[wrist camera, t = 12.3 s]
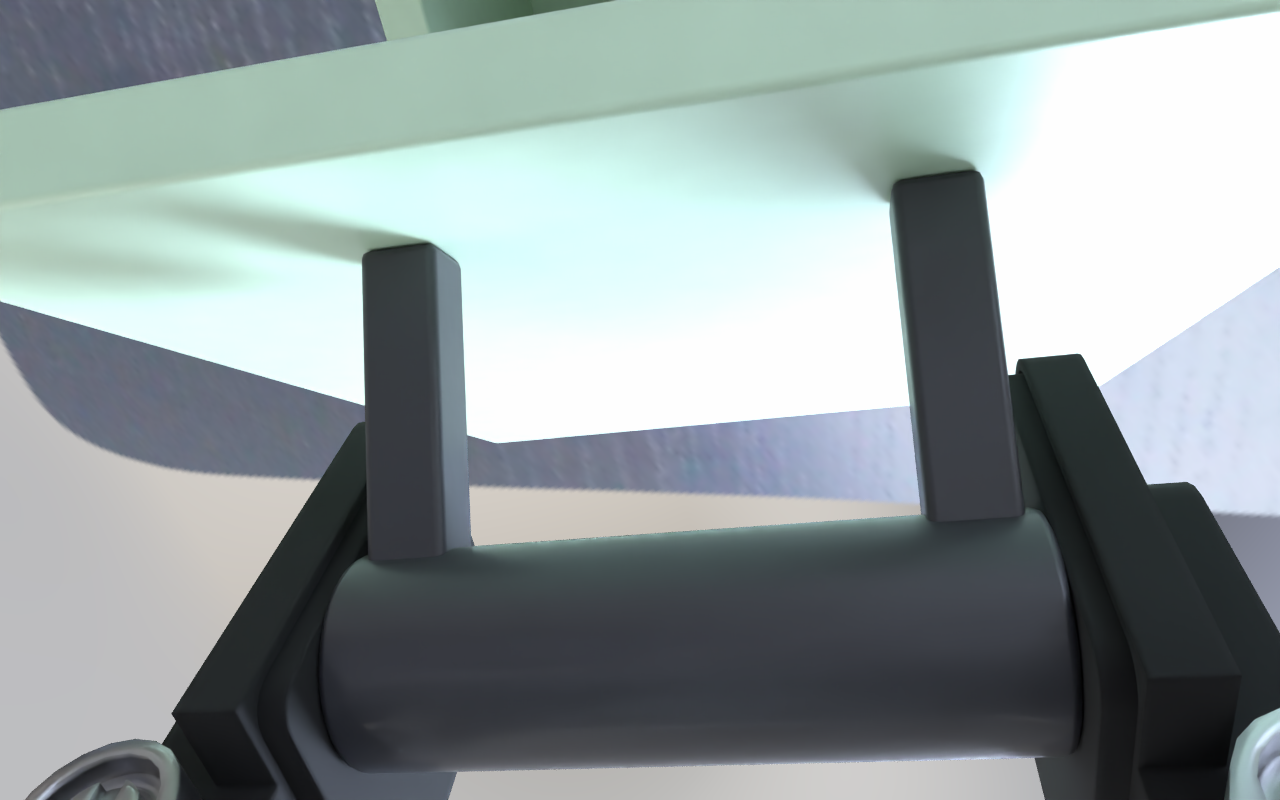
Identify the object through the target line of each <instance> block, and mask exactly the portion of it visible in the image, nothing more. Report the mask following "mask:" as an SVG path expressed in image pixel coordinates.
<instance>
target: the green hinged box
mask: <svg viewBox="0 0 1280 800" xmlns="http://www.w3.org/2000/svg"><path fill="white" fill-rule="evenodd" d="M610 1H615V0H375V2H376V6H377V9H378V12H379V16H380V19H381V22H382V25H383V29H384V32H385V35H386V39H387V41H390V40H396V39H402V38H407V37H413V36H418V35H424V34H430V33H435V32H441V31H447V30H452V29H458V28H463V27H469V26H475V25H480V24H486V23H492V22H497V21H503V20H508V19H514V18H520V17H525V16H531V15H537V14H542V13H548V12H553V11H559V10H565V9H570V8H576V7H582V6H587V5H593V4H598V3H604V2H610Z"/></svg>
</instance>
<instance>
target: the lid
mask: <svg viewBox="0 0 1280 800" xmlns="http://www.w3.org/2000/svg"><path fill="white" fill-rule="evenodd" d="M1279 267H1280V0H615V1H610V2H604V3H598V4H593V5H587V6H582V7H576V8H570V9H565V10H559V11H553V12H548V13H542V14H537V15H531V16H525V17H520V18H514V19H508V20H503V21H497V22H492V23H486V24H480V25H475V26H469V27H463V28H458V29H452V30H447V31H441V32H435V33H430V34H424V35H418V36H413V37H407V38H402V39H396V40H390V41H385V42H379V43H373V44H368V45H362V46H357V47H351V48H345V49H340V50H334V51H328V52H323V53H317V54H312V55H306V56H300V57H295V58H289V59H283V60H278V61H272V62H267V63H261V64H255V65H250V66H244V67H238V68H233V69H227V70H222V71H216V72H210V73H205V74H199V75H193V76H188V77H182V78H177V79H171V80H165V81H160V82H154V83H148V84H143V85H137V86H132V87H126V88H120V89H115V90H109V91H103V92H98V93H92V94H87V95H81V96H75V97H70V98H64V99H58V100H53V101H47V102H42V103H36V104H30V105H25V106H19V107H14V108H8V109H2V110H0V301H1V302H5V303H8V304H12V305H15V306H19V307H22V308H26V309H29V310H33V311H36V312H40V313H43V314H47V315H50V316H54V317H57V318H61V319H64V320H68V321H71V322H75V323H78V324H82V325H85V326H89V327H92V328H96V329H99V330H103V331H106V332H110V333H113V334H117V335H120V336H124V337H127V338H131V339H134V340H138V341H141V342H145V343H148V344H152V345H155V346H159V347H162V348H166V349H169V350H173V351H176V352H180V353H183V354H187V355H190V356H194V357H197V358H201V359H204V360H208V361H211V362H215V363H218V364H222V365H225V366H229V367H232V368H236V369H239V370H243V371H246V372H250V373H253V374H257V375H260V376H264V377H267V378H271V379H274V380H278V381H281V382H285V383H288V384H292V385H295V386H299V387H302V388H306V389H309V390H313V391H316V392H320V393H323V394H327V395H330V396H334V397H337V398H341V399H344V400H348V401H351V402H355V403H358V404H362V405H365V434H366V481H367V527H368V555H366V556H364V557H362V558H360V559H358V560H357V561H355V562H354V563H353V564H351V565H350V566H349V567H348V569H347V570H346V571H345V572H344V573H343V575H342V576H341V578H340V579H339V581H338V583H337V585H336V587H335V589H334V591H333V593H332V596H331V598H330V601H329V604H328V607H327V611H326V614H325V618H324V623H323V627H322V633H321V640H320V649H319V673H318V674H319V691H320V700H321V706H322V712H323V717H324V721H325V724H326V728H327V731H328V733H329V736H330V739H331V741H332V743H333V745H334V747H335V749H336V751H337V752H338V754H339V755H340V756H341V758H342V759H343V760H344V761H345V762H346V763H347V764H348V765H349V766H351V767H353V768H354V769H356V770H358V771H360V772H363V773H367V774H379V773H421V772H463V771H505V770H545V769H589V768H630V767H669V766H670V767H673V766H713V765H755V764H796V763H797V764H798V763H841V762H881V761H923V760H966V759H1007V758H1050V757H1066V756H1068V755H1070V754H1072V753H1074V752H1075V751H1076V749H1077V746H1078V743H1079V738H1080V734H1081V728H1082V718H1083V683H1082V667H1081V656H1080V647H1079V638H1078V631H1077V624H1076V618H1075V612H1074V606H1073V600H1072V595H1071V590H1070V585H1069V581H1068V577H1067V572H1066V569H1065V565H1064V561H1063V558H1062V554H1061V551H1060V548H1059V545H1058V542H1057V539H1056V537H1055V534H1054V532H1053V530H1052V528H1051V526H1050V524H1049V522H1048V520H1047V519H1046V517H1045V516H1044V514H1043V513H1042V512H1041V511H1040V510H1037V509H1034V508H1030V507H1025V506H1024V498H1023V490H1022V482H1021V474H1020V465H1019V457H1018V449H1017V441H1016V433H1015V425H1014V417H1013V409H1012V401H1011V393H1010V385H1009V377H1008V375H1012V374H1015V369H1016V363H1017V361H1018V359H1023V358H1033V357H1044V356H1054V355H1065V354H1075V353H1079V354H1081V355H1082V356H1083V358H1084V359H1085V361H1086V363H1087V365H1088V367H1089V369H1090V371H1091V373H1092V375H1093V377H1094V379H1095V381H1096V383H1097V385H1098V387H1099V386H1101V385H1102V384H1104V383H1105V382H1107V381H1108V380H1110V379H1111V378H1113V377H1114V376H1116V375H1117V374H1119V373H1120V372H1122V371H1123V370H1125V369H1126V368H1128V367H1129V366H1131V365H1132V364H1134V363H1135V362H1137V361H1138V360H1140V359H1141V358H1143V357H1144V356H1146V355H1147V354H1149V353H1150V352H1152V351H1153V350H1155V349H1156V348H1158V347H1159V346H1161V345H1162V344H1164V343H1165V342H1167V341H1168V340H1170V339H1171V338H1173V337H1175V336H1176V335H1178V334H1179V333H1181V332H1182V331H1184V330H1185V329H1187V328H1188V327H1190V326H1191V325H1193V324H1194V323H1196V322H1197V321H1199V320H1200V319H1202V318H1203V317H1205V316H1206V315H1208V314H1209V313H1211V312H1212V311H1214V310H1215V309H1217V308H1218V307H1220V306H1221V305H1223V304H1224V303H1226V302H1227V301H1229V300H1230V299H1232V298H1233V297H1235V296H1236V295H1238V294H1239V293H1241V292H1242V291H1244V290H1245V289H1247V288H1248V287H1250V286H1251V285H1253V284H1254V283H1256V282H1258V281H1259V280H1261V279H1262V278H1264V277H1265V276H1267V275H1268V274H1270V273H1271V272H1273V271H1274V270H1276V269H1277V268H1279ZM899 406H910V413H911V423H912V432H913V441H914V450H915V460H916V469H917V478H918V488H919V497H920V506H921V515H910V516H897V517H882V518H867V519H853V520H839V521H825V522H811V523H796V524H783V525H768V526H754V527H739V528H725V529H711V530H697V531H683V532H668V533H655V534H640V535H626V536H611V537H599V538H598V537H597V538H583V539H571V540H570V539H569V540H556V541H541V542H526V543H512V544H498V545H483V546H471V526H470V500H469V473H468V447H467V435H470V436H473V437H477V438H480V439H484V440H487V441H491V442H494V443H504V442H515V441H526V440H537V439H548V438H559V437H570V436H580V435H591V434H602V433H613V432H624V431H635V430H646V429H657V428H668V427H679V426H690V425H701V424H712V423H723V422H734V421H745V420H756V419H767V418H778V417H789V416H800V415H811V414H822V413H833V412H844V411H855V410H866V409H877V408H888V407H899Z"/></svg>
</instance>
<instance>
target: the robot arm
mask: <svg viewBox="0 0 1280 800" xmlns="http://www.w3.org/2000/svg"><path fill="white" fill-rule="evenodd" d="M1008 377H1009V385H1010V393H1011V401H1012V409H1013V417H1014V425H1015V433H1016V441H1017V449H1018V457H1019V465H1020V474H1021V482H1022V490H1023V498H1024V506H1025V507H1030V508H1034V509H1037V510H1040V511H1041V512H1042V513H1043V514H1044V516H1045V517H1046V519H1047V520H1048V522H1049V524H1050V526H1051V528H1052V530H1053V532H1054V534H1055V537H1056V539H1057V542H1058V545H1059V548H1060V551H1061V554H1062V558H1063V561H1064V565H1065V569H1066V572H1067V577H1068V581H1069V585H1070V590H1071V595H1072V600H1073V606H1074V612H1075V618H1076V624H1077V631H1078V638H1079V647H1080V656H1081V667H1082V683H1083V718H1082V728H1081V734H1080V738H1079V743H1078V746H1077V749H1076V751H1075V752H1074V753H1072V754H1070V755H1068V756H1066V757H1050V758H1035V761H1036V765H1037V769H1038V773H1039V777H1040V781H1041V785H1042V789H1043V793H1044V797H1045V800H1280V633H1279V631H1278V629H1277V627H1276V626H1275V624H1274V622H1273V621H1272V619H1271V617H1270V615H1269V613H1268V612H1267V610H1266V608H1265V606H1264V604H1263V603H1262V601H1261V599H1260V597H1259V596H1258V594H1257V592H1256V591H1255V589H1254V587H1253V585H1252V583H1251V581H1250V580H1249V578H1248V576H1247V574H1246V573H1245V571H1244V569H1243V567H1242V566H1241V564H1240V562H1239V560H1238V559H1237V557H1236V555H1235V553H1234V551H1233V550H1232V548H1231V546H1230V544H1229V543H1228V541H1227V539H1226V538H1225V536H1224V534H1223V532H1222V530H1221V529H1220V527H1219V525H1218V523H1217V521H1216V520H1215V518H1214V516H1213V514H1212V513H1211V511H1210V509H1209V507H1208V505H1207V504H1206V502H1205V500H1204V498H1203V497H1202V495H1201V494H1200V493H1199V491H1198V490H1197V489H1196V487H1195V486H1194V485H1192V484H1190V483H1188V482H1179V483H1165V484H1151V485H1147V484H1146V482H1145V480H1144V478H1143V476H1142V474H1141V472H1140V470H1139V468H1138V466H1137V464H1136V462H1135V460H1134V458H1133V456H1132V453H1131V451H1130V449H1129V447H1128V445H1127V443H1126V441H1125V439H1124V437H1123V435H1122V433H1121V431H1120V429H1119V427H1118V425H1117V423H1116V421H1115V419H1114V417H1113V415H1112V413H1111V411H1110V409H1109V407H1108V405H1107V403H1106V401H1105V399H1104V397H1103V395H1102V393H1101V391H1100V389H1099V387H1098V385H1097V383H1096V381H1095V379H1094V377H1093V375H1092V373H1091V371H1090V369H1089V367H1088V365H1087V363H1086V361H1085V359H1084V358H1083V356H1082V355H1081V354H1079V353H1075V354H1065V355H1054V356H1044V357H1033V358H1023V359H1018V361H1017V363H1016V369H1015V374H1012V375H1008ZM471 546H474V542H473V540H472V537H471ZM366 555H368V527H367V481H366V434H365V422H361V423H358V424H357V425H356V426H355V427H354V428H353V430H352V431H351V433H350V434H349V436H348V437H347V439H346V441H345V442H344V444H343V445H342V447H341V448H340V450H339V452H338V453H337V455H336V456H335V458H334V459H333V461H332V463H331V464H330V466H329V467H328V469H327V470H326V472H325V474H324V475H323V477H322V478H321V480H320V481H319V483H318V485H317V486H316V488H315V489H314V491H313V493H312V494H311V495H310V497H309V499H308V500H307V502H306V503H305V505H304V507H303V508H302V510H301V511H300V513H299V514H298V516H297V518H296V519H295V521H294V522H293V524H292V525H291V527H290V529H289V530H288V532H287V533H286V535H285V536H284V538H283V540H282V541H281V543H280V544H279V546H278V547H277V549H276V550H275V552H274V554H273V555H272V557H271V558H270V560H269V561H268V563H267V565H266V566H265V568H264V569H263V571H262V572H261V574H260V576H259V577H258V579H257V580H256V582H255V584H254V585H253V586H252V588H251V590H250V591H249V593H248V594H247V596H246V598H245V599H244V601H243V602H242V604H241V605H240V607H239V608H238V610H237V612H236V613H235V615H234V616H233V618H232V620H231V621H230V623H229V624H228V626H227V627H226V629H225V630H224V632H223V634H222V635H221V637H220V638H219V640H218V641H217V643H216V645H215V646H214V648H213V650H212V651H211V652H210V654H209V656H208V657H207V659H206V660H205V662H204V663H203V665H202V667H201V668H200V670H199V671H198V673H197V674H196V676H195V677H194V679H193V681H192V682H191V684H190V686H189V687H188V689H187V690H186V692H185V693H184V695H183V696H182V698H181V699H180V701H179V703H178V704H177V706H176V707H175V709H174V710H173V712H172V715H173V717H174V718H175V720H176V722H175V724H174V726H173V727H172V729H171V731H170V732H169V734H168V735H167V737H166V738H165V740H164V742H163V743H162V744H160V743H158V742H157V741H150V740H140V739H133V740H127V741H122V742H116V743H111V744H108V745H106V746H103V747H101V748H98V749H96V750H93V751H91V752H88V753H86V754H83V755H82V756H80V757H78V758H77V759H75V760H73V761H72V762H70V763H68V764H67V765H65V766H64V767H62V768H60V769H58V770H57V771H56V772H54V773H53V774H52V775H51V776H50V777H48V778H47V779H46V780H45V781H44V782H43V783H41V784H40V785H39V786H38V787H37V788H36V789H34V790H33V791H32V792H31V793H30V794H29V796H28V797H27V798H26V799H25V800H448V798H449V795H450V792H451V789H452V786H453V783H454V780H455V777H456V773H457V772H421V773H379V774H367V773H363V772H360V771H358V770H356V769H354V768H353V767H351V766H349V765H348V764H347V763H346V762H345V761H344V760H343V759H342V758H341V756H340V755H339V754H338V752H337V751H336V749H335V747H334V745H333V743H332V741H331V739H330V736H329V733H328V731H327V728H326V724H325V721H324V717H323V712H322V706H321V700H320V691H319V674H318V673H319V649H320V640H321V633H322V627H323V623H324V618H325V614H326V611H327V607H328V604H329V601H330V598H331V596H332V593H333V591H334V589H335V587H336V585H337V583H338V581H339V579H340V578H341V576H342V575H343V573H344V572H345V571H346V570H347V569H348V567H349V566H350V565H351V564H353V563H354V562H355V561H357V560H358V559H360V558H362V557H364V556H366Z"/></svg>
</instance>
